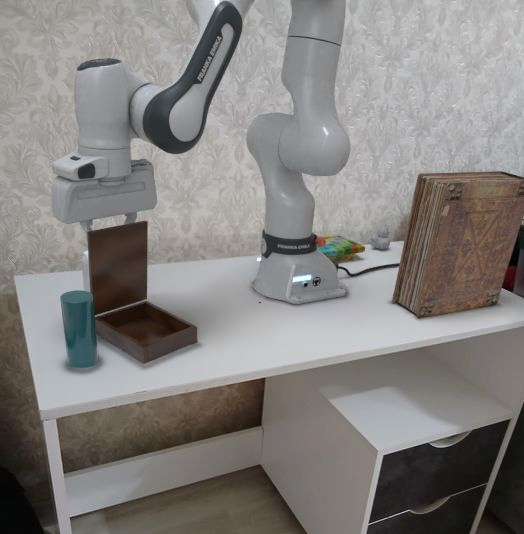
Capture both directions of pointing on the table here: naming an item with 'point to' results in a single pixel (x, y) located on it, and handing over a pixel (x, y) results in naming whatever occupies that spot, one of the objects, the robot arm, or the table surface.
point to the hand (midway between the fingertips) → (110, 238)
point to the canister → (79, 328)
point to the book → (459, 241)
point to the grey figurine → (381, 238)
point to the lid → (118, 265)
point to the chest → (145, 331)
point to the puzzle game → (340, 248)
